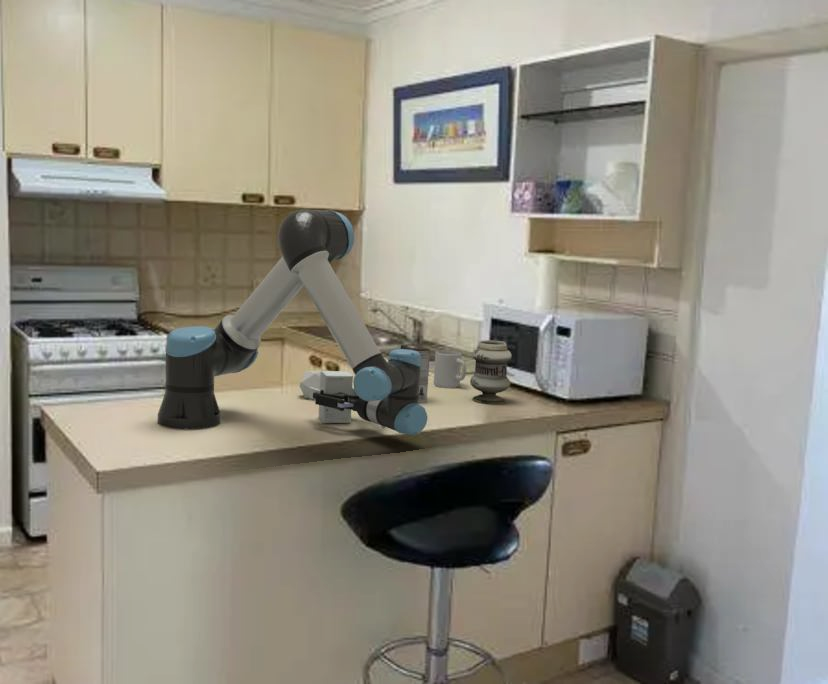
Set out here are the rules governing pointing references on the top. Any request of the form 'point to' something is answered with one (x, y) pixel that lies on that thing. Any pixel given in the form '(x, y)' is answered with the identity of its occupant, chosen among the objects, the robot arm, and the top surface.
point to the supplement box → (338, 386)
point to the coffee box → (424, 369)
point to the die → (310, 382)
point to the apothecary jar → (490, 371)
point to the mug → (448, 369)
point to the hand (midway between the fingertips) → (326, 390)
